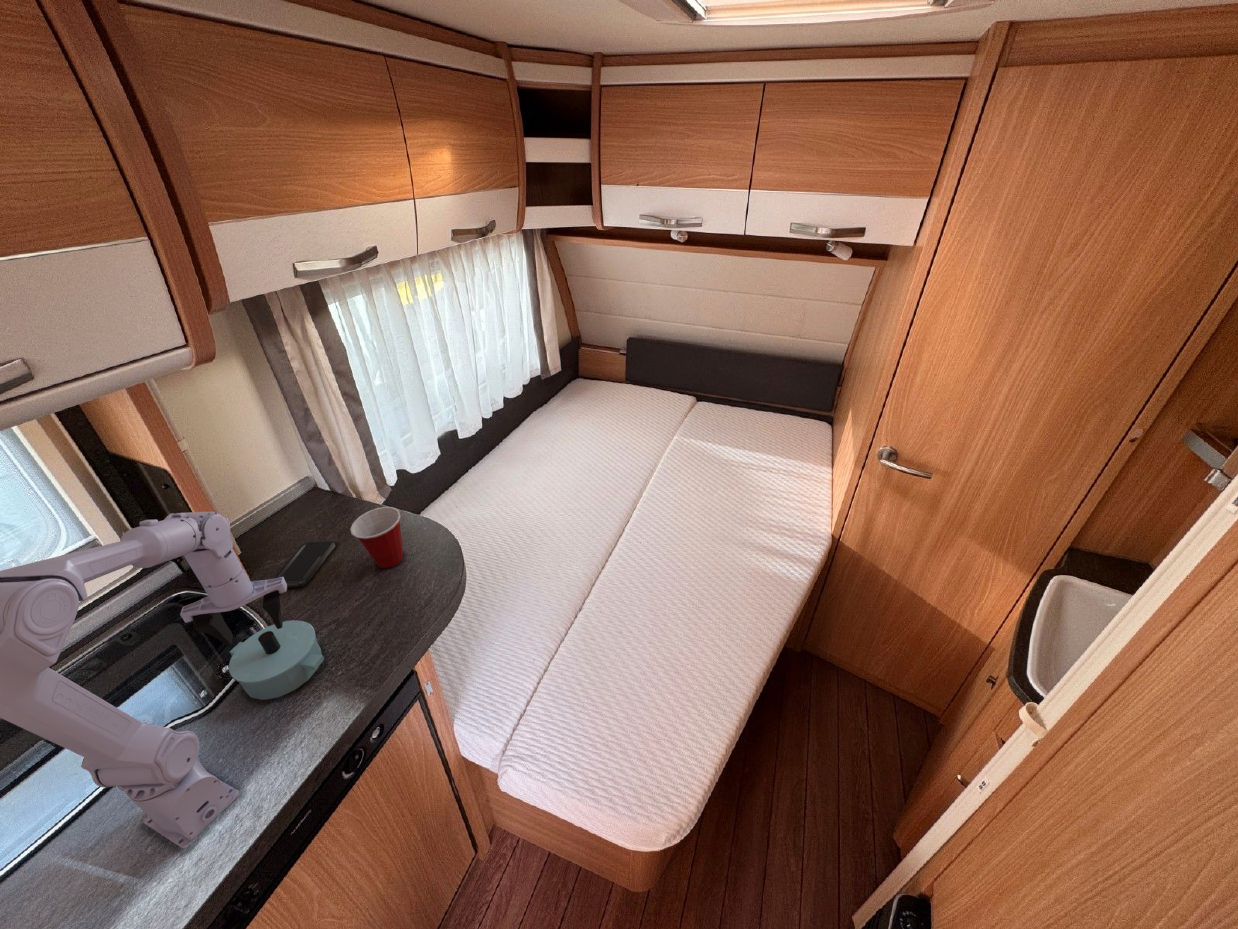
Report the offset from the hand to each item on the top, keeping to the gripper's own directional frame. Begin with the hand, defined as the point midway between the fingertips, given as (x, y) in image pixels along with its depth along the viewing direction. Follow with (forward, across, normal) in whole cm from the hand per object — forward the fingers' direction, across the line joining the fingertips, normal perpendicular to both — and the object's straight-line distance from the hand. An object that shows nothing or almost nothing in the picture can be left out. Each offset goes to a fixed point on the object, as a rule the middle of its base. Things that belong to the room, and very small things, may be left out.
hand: (255, 633), depth 90 cm
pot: (+10, -1, 0) cm, 10 cm away
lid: (+5, -1, 0) cm, 5 cm away
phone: (+10, -4, -31) cm, 33 cm away
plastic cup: (+10, -22, -23) cm, 33 cm away
